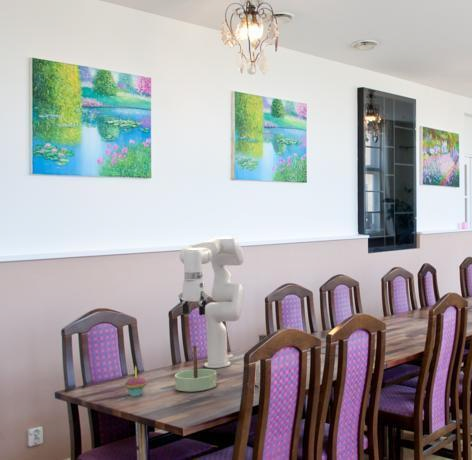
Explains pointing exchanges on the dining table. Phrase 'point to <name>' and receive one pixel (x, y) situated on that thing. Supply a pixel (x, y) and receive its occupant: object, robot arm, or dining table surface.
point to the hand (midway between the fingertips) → (193, 314)
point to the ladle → (195, 361)
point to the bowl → (195, 380)
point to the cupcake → (135, 385)
